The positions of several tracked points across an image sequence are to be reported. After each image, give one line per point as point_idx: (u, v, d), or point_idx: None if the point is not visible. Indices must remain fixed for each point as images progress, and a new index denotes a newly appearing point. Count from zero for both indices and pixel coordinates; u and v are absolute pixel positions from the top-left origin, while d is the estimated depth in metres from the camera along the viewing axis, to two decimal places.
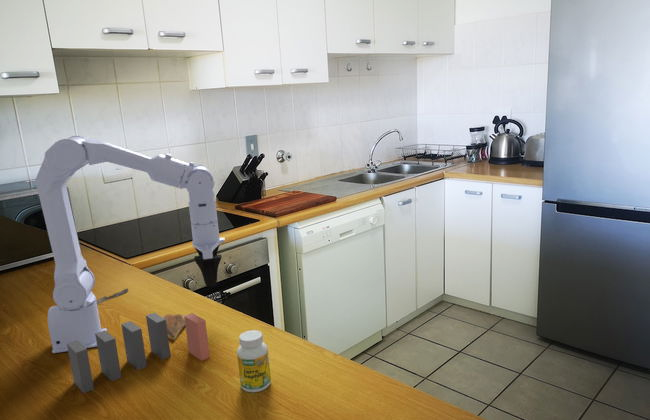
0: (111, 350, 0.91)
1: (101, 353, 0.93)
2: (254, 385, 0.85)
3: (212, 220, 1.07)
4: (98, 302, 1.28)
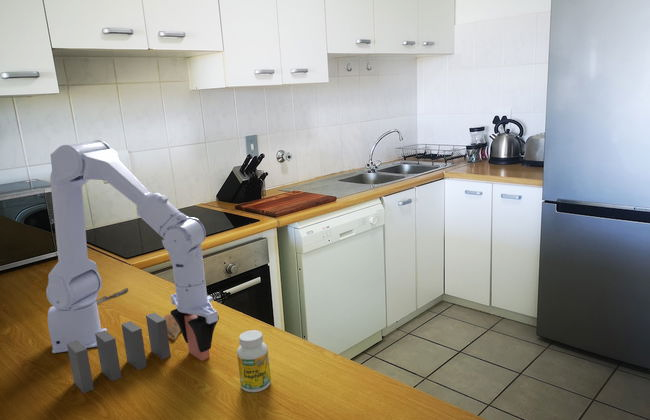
0: (111, 350, 0.91)
1: (101, 353, 0.93)
2: (254, 385, 0.85)
3: (191, 283, 0.93)
4: (98, 302, 1.28)
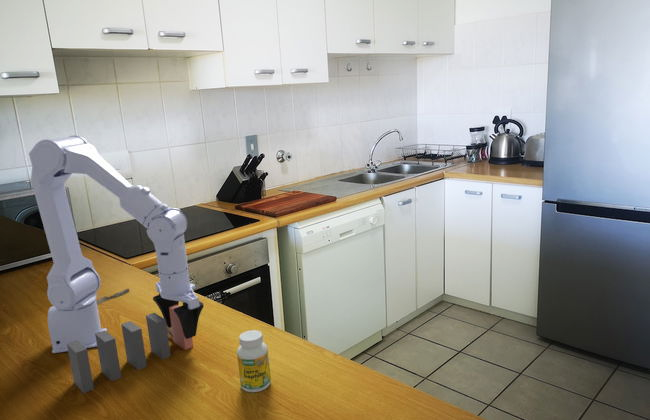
0: (111, 350, 0.91)
1: (101, 353, 0.93)
2: (254, 385, 0.85)
3: (176, 270, 0.97)
4: (98, 302, 1.28)
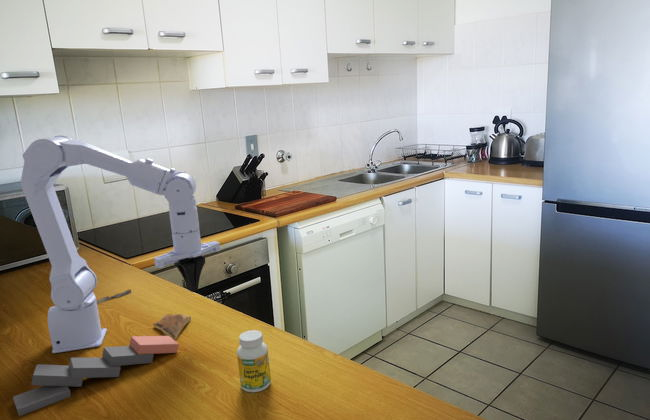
0: (45, 380, 0.87)
1: None
2: (254, 385, 0.85)
3: (192, 229, 1.03)
4: (98, 302, 1.28)
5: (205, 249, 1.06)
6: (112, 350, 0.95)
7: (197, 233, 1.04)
